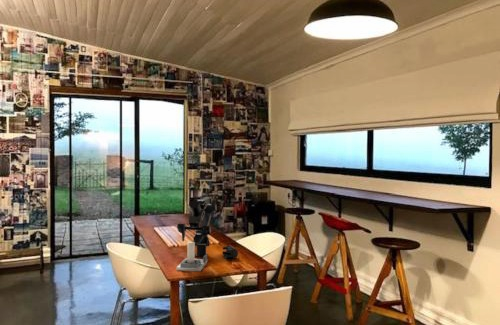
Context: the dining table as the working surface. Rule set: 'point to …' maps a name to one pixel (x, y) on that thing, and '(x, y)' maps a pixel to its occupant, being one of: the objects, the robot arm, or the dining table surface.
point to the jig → (193, 264)
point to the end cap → (230, 252)
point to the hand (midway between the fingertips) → (191, 241)
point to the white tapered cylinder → (191, 252)
